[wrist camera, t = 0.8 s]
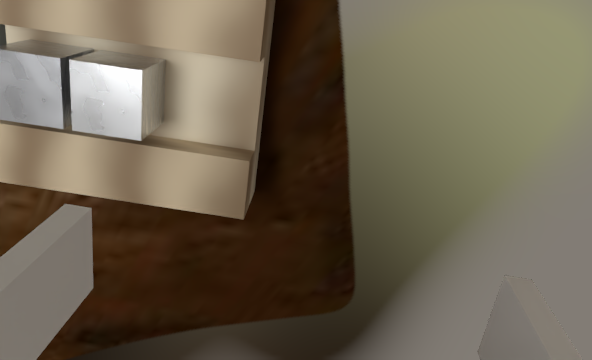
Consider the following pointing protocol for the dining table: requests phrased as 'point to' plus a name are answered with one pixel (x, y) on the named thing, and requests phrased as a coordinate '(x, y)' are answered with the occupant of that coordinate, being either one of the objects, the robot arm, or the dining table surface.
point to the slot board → (177, 107)
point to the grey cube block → (37, 82)
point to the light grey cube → (117, 94)
